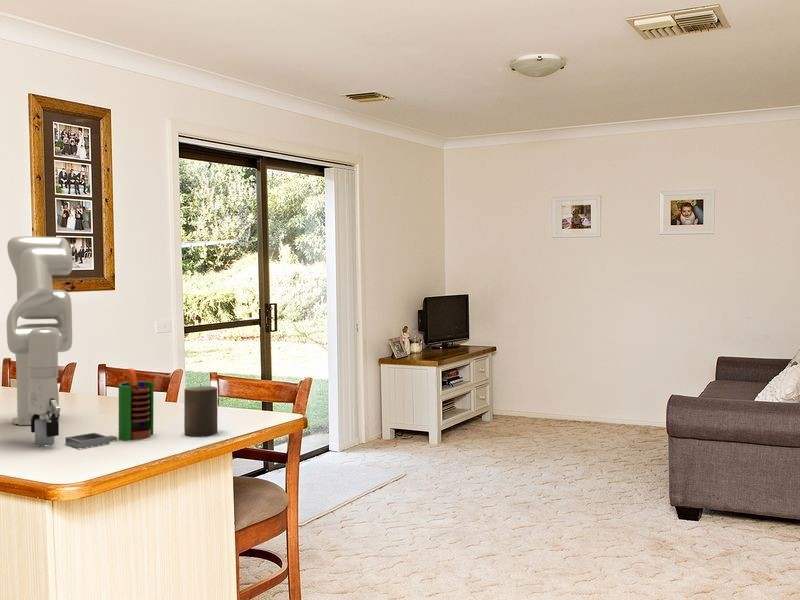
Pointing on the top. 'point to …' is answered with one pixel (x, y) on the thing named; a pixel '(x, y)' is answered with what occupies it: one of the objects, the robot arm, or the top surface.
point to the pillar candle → (200, 411)
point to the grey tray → (88, 440)
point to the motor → (135, 408)
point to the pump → (42, 432)
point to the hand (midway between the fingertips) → (44, 434)
